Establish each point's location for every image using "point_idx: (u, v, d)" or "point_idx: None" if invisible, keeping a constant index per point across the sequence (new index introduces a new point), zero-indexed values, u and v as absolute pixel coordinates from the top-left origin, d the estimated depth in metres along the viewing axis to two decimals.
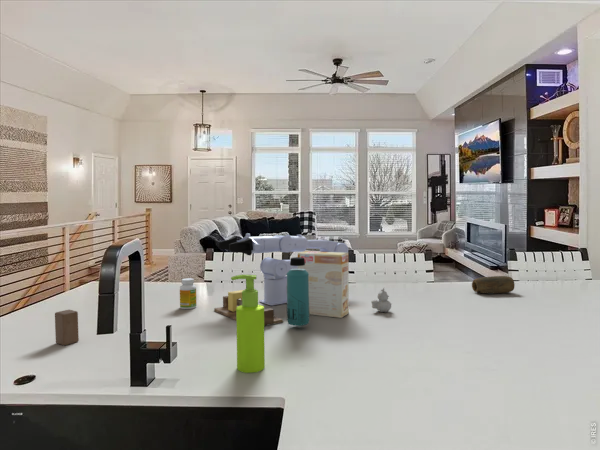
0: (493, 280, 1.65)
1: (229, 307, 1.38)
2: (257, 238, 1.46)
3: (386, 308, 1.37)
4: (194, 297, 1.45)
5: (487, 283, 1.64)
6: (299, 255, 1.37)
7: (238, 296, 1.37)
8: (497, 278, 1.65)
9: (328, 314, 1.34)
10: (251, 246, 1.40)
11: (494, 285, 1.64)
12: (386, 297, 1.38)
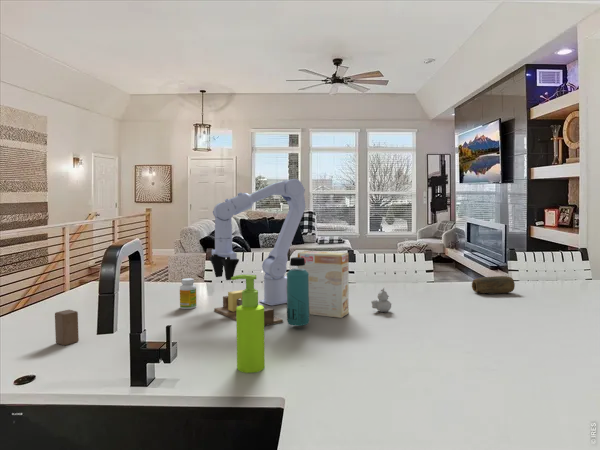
0: (493, 280, 1.64)
1: (229, 307, 1.38)
2: (219, 244, 1.43)
3: (386, 308, 1.37)
4: (194, 297, 1.45)
5: (486, 283, 1.64)
6: (299, 255, 1.37)
7: (238, 296, 1.37)
8: (497, 278, 1.65)
9: (328, 314, 1.34)
10: (231, 260, 1.41)
11: (494, 285, 1.64)
12: (386, 297, 1.38)
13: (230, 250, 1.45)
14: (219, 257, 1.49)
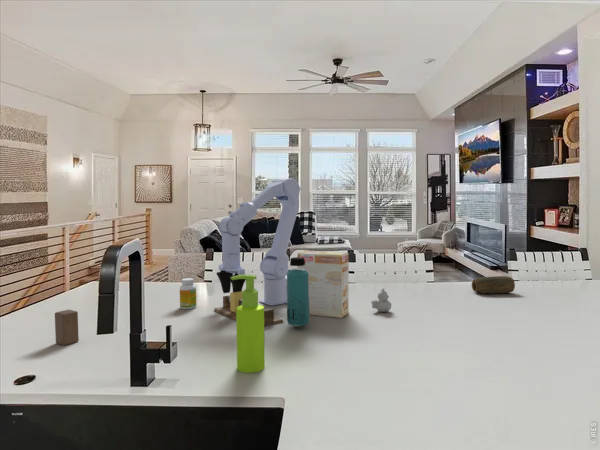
0: (493, 280, 1.64)
1: (231, 308, 1.37)
2: (227, 260, 1.39)
3: (386, 308, 1.37)
4: (194, 297, 1.45)
5: (486, 283, 1.64)
6: (299, 255, 1.37)
7: (240, 296, 1.36)
8: (497, 278, 1.65)
9: (328, 314, 1.34)
10: None
11: (493, 285, 1.63)
12: (386, 297, 1.38)
13: (238, 266, 1.41)
14: (227, 273, 1.45)
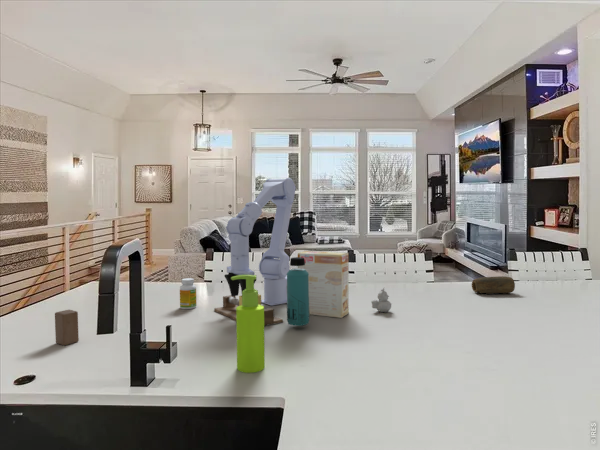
0: (493, 280, 1.64)
1: None
2: (235, 262, 1.35)
3: (386, 308, 1.37)
4: (194, 297, 1.45)
5: (486, 283, 1.63)
6: (299, 255, 1.37)
7: None
8: (497, 278, 1.65)
9: (328, 314, 1.34)
10: None
11: (493, 285, 1.63)
12: (386, 297, 1.38)
13: (247, 268, 1.36)
14: (235, 275, 1.41)
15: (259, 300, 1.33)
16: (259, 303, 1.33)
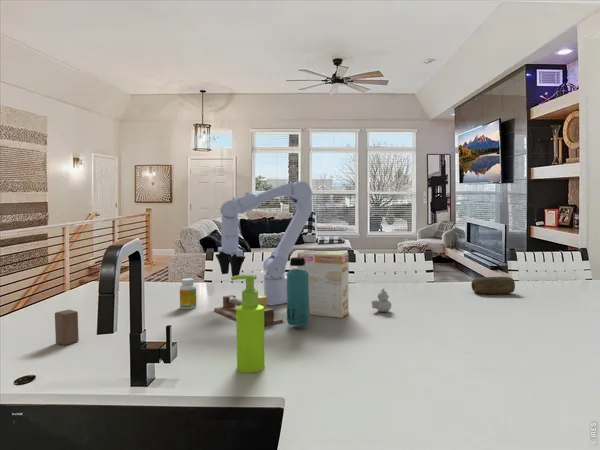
0: (492, 280, 1.64)
1: None
2: (226, 242, 1.46)
3: (386, 308, 1.37)
4: (194, 297, 1.45)
5: (485, 283, 1.63)
6: (299, 255, 1.37)
7: None
8: (497, 279, 1.64)
9: (328, 314, 1.34)
10: (238, 257, 1.44)
11: (493, 285, 1.63)
12: (386, 297, 1.38)
13: (236, 247, 1.47)
14: (225, 254, 1.52)
15: (265, 302, 1.31)
16: (265, 305, 1.31)
